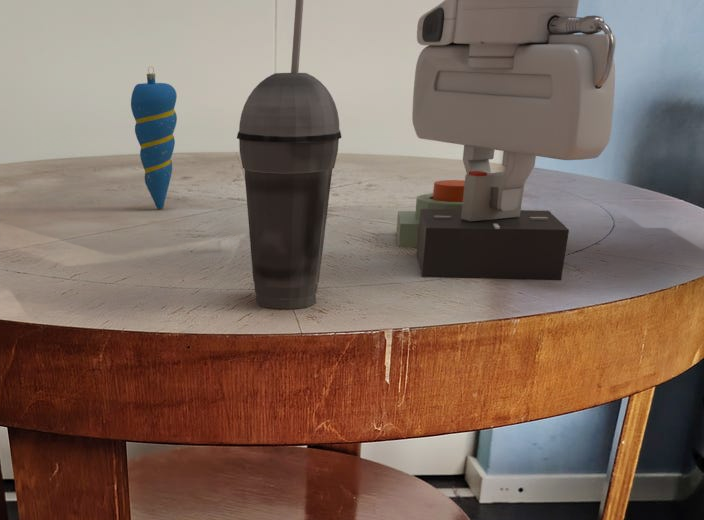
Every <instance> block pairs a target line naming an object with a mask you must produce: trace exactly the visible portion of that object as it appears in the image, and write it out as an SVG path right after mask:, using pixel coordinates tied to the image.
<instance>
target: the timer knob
mask: <svg viewBox="0 0 704 520" xmlns="http://www.w3.org/2000/svg"><path fill="white" fill-rule="evenodd" d="M504 172H505V171H500V172H497V171H496V172H491V173H487V172H482V171H471V172H469V175H467V174H465V176H464V181H465V184H464V194H463V203H462V212H461V219H463V220H467V221H470V222H472V221H483V220H493V219H503V218H514V217H520V211H521V210H522V203H523V196H524V187H525V183H524V184H523V186H522V187H521V188H520V195H519V203H518V207H517V208H516V210H514V211H504V212H503V211H499V210H495V209H492V208H491V207H490V205H489V203H490V200H491V196H490V195H491V187H495V186H498V185H499V183H500V181H501V179H502V177H503V174H504Z"/></svg>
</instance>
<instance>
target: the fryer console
mask: <svg viewBox="0 0 704 520" xmlns="http://www.w3.org/2000/svg"><path fill="white" fill-rule="evenodd" d="M461 212H462V210H455V209H420V219H419V231H418V242H417V247H416V258H417V263H418V267H419V271H420V276H421V278H436V279H437V278H441V279H443V278H444V279H482V280H483V279H485V280H487V279H488V280H491V279H492V280H527V281H528V280H529V281H531V280H532V281H533V280H534V281H539V280H540V281H562V276H563V272H564V271H563V270H564V264H565V259H566V253H567V246H568V239H569V234H570V229H569V228H568V227H566V225H565V224H563V223H562V222H561V221H560V220H559V219H558V218H557V217H556V216H555V215H554V214H553V213H552V212H551V211H549V210H531V209H529V210H528V209H527V210H525V209H524V210H523V209H521V211H520V217H514V218H503V219H493V220H483V221H472V222H470V221H467V220H463V219H461Z"/></svg>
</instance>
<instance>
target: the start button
mask: <svg viewBox="0 0 704 520" xmlns="http://www.w3.org/2000/svg"><path fill="white" fill-rule="evenodd" d="M464 184H465V179H464V180H463V179H445V180H437V181H434V182H433V189H432V193H433V200H437V201H446V202H463V194H464Z"/></svg>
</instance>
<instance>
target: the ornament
mask: <svg viewBox="0 0 704 520" xmlns="http://www.w3.org/2000/svg"><path fill="white" fill-rule="evenodd" d="M150 68H152V70H153V71H152V73H150V72H149V70H150ZM147 72H148V73H146V81H147V82H145V83H144V82H143V83H137V84H136V85H134V88H133V90H132V92H131V98H130V108H131V112H132V116H133V118H134V121H135V125H134V134H135V136H136V139H137V142H138V144H139V146H140V150H139V153H140V154H139V158H140V161H141V165H142V167H143V170H144V184H145V186H146V188H147V190H148V192H149V194H150V196H151V198H152V201H153V202H154V205H155V207H156V209H157V210H162V209H164V207H165V202H166V198H167V194H168V191H169V186H170V182H171V180H172V179H171V178H172V174H173V161H172V156H173V153H174V150H175V144H176V140H175V136H174V133H175V129H176V127H177V121H178V117H177V112H176V110H175V107H176V103H177V96H178V95H177V91H176V89H175V88H174V87H173V85H171V84H170V83H167V82H166V83H165V82H156V73H154V72H155V69H154V68H153V66H149V67H148V68H147Z"/></svg>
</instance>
